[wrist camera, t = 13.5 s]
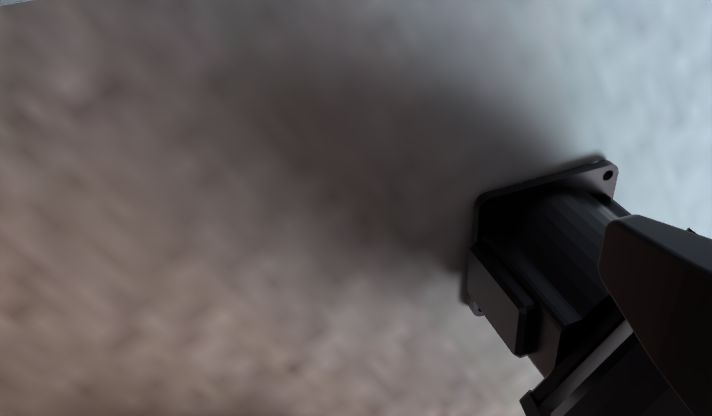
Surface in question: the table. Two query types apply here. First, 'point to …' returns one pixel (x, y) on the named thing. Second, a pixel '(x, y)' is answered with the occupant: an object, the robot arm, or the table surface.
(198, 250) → the table surface
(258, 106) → the table surface
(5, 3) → the tray
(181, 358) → the table surface
